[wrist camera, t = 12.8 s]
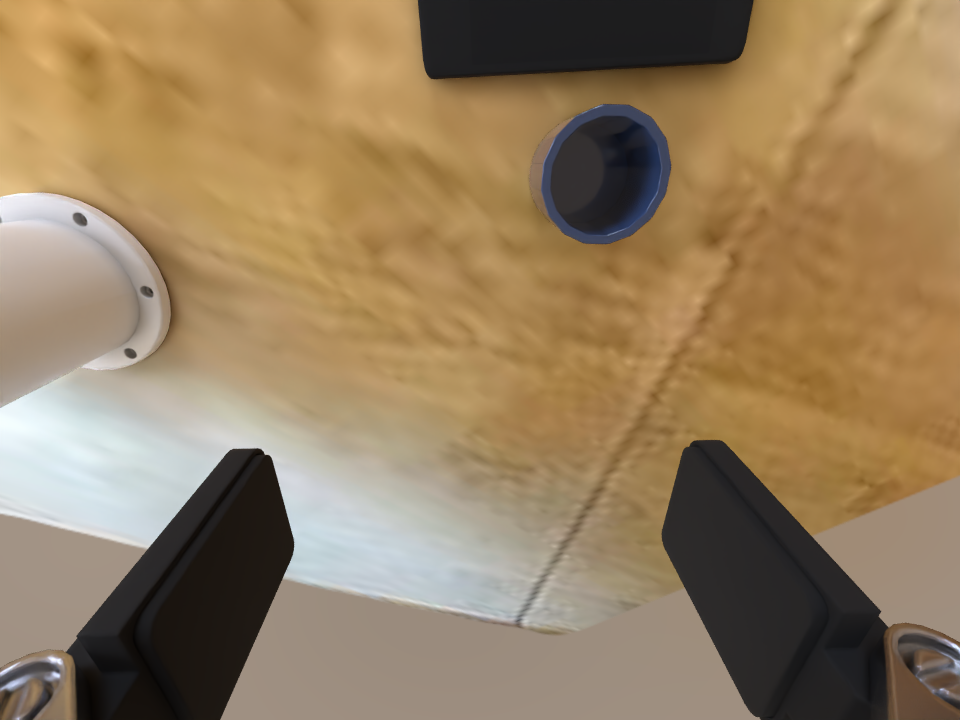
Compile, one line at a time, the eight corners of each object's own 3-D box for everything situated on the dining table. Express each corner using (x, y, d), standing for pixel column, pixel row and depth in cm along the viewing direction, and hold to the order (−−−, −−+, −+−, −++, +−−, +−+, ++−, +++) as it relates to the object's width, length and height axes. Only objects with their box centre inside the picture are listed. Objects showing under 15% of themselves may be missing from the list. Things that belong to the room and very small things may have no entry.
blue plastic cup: (525, 227, 28) (536, 242, 23) (533, 115, 25) (547, 102, 20) (622, 229, 28) (656, 245, 23) (640, 118, 25) (684, 105, 20)
